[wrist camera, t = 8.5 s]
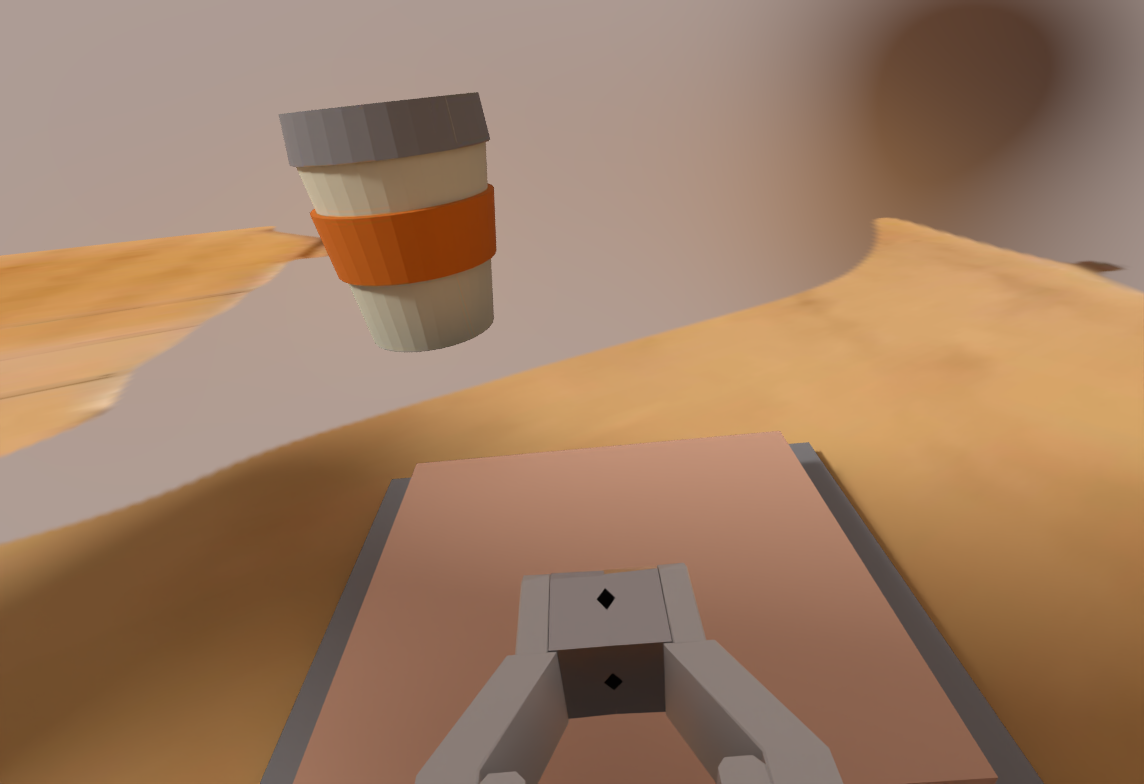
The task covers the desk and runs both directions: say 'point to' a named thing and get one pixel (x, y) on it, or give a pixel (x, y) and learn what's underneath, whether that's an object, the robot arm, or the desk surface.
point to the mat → (980, 719)
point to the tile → (621, 540)
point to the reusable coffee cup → (404, 213)
